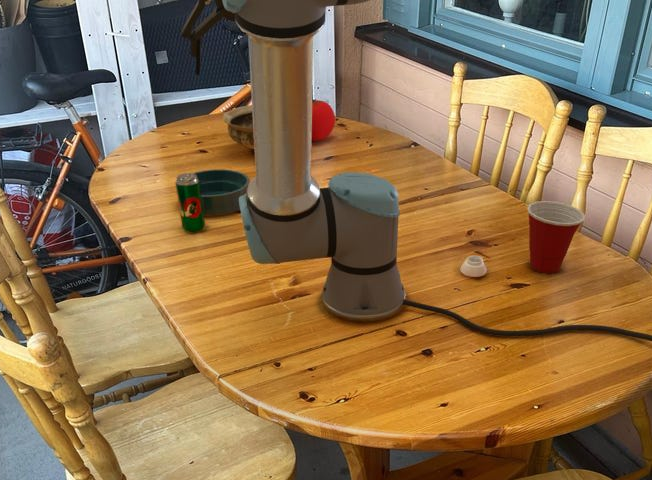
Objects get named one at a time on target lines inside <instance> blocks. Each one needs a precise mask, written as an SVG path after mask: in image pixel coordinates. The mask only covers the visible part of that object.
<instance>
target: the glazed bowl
mask: <svg viewBox="0 0 652 480" xmlns="http://www.w3.org/2000/svg"><path fill="white" fill-rule="evenodd" d="M192 173H193V174H196V175H197V178H198V179H199V182H200V190H201V197H202V205H203V212H204V216H221V215H227V214H231V213H235V212H238V211H240V206H239V197H240V196H243V195H244V194H247V189H248V185H249V183H250V181H251V179H250V178H249V176H248V175H247V174H245V173H243V172H241V171H237V170H233V169H226V168H225V169H223V168H220V169H219V168H217V169H205V170H199V171H195V172H192Z"/></svg>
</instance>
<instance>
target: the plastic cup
mask: <svg viewBox="0 0 652 480" xmlns="http://www.w3.org/2000/svg"><path fill="white" fill-rule="evenodd" d="M526 210H527V213H528V230H529V232H528V235H529V236H528V237H529V239H528V241H529V242H528V247H529V248H528V250H529V263H530V267H531V269H533V270H534V271H536V272H539V273H543V274H553V273H557V272H558V271H560V269H561V267H562V265H563V263H564V260H565V257H566V256H567V253H568V250H569V248H570V246H571V244H572V241H573V238H574V236H575V233H577V231H578V229H579V227H580V225H581V224H582V223H583V222H584V221H585V219H586V215H585V213H584V212H583V211H582V210H580V209H578V208H577V207H576V206H573V205H571V204H567V203H562V202H559V201H551V200H548V201H547V200H541V201H539V200H538V201H534V202H532V203H529V204H528V206H527V207H526Z"/></svg>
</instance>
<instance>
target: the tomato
mask: <svg viewBox="0 0 652 480" xmlns="http://www.w3.org/2000/svg"><path fill="white" fill-rule="evenodd" d="M335 124H336V114H335V111H334V109H333V108H332V106H331V105H330V103H328V101H327V100H326V101H324V100H318V99H317V98H315V99H313V98H312V139H311V142H318V141H322V140H324V139H326V138H328V137H329V136H330V135H331V133H332V132H333V130H334V128H335Z"/></svg>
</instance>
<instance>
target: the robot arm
mask: <svg viewBox="0 0 652 480" xmlns="http://www.w3.org/2000/svg"><path fill="white" fill-rule="evenodd" d="M212 1H213V2H214V4H215V6H216V7H215V8H214V10H213V11H212V12H211V13H210V14H209V15H208V16H207V17H206V18H204V20H203V21H201V23H200V24H199V25H198V26H197V27H195V29H194V26H195V25H196V23H197V22H198V20H199V18H200V16H201V14H202V13H203V11H204V9H205V6H206V5H209V4H210V3H211V2H212ZM369 1H370V0H197V1H196V4H195V6H193V9H192V11H191V13H190V14H189V15H188V18H187V20H186V21H185V23H184V25H183V27H182V29H181V30H182V31H181V37H182V38H183V39H187V40H189V42H190V56H191V57H192V58H195V62H196V63H195V75H197V76H200V75H201V68H202V67H201V66H202V65H201V64H202V38H203V36H205V34H207V33H208V31H210V30H211V29H212V28H213V27H214V26H215V25H216V24H217V23H218V22H220V21H221V20H223V18H224V19H226V21H228V22H234V21H235V23H236V25H237V27H238V28H239V29H240V30H241V31H242V32H244V33H245V34H246V35H247V43H248V59H249V60H248V61H249V79H250V93H251V105H252V114H253V132H254V149H253V151H254V150H255V152H254V163H255V165H254V167H255V176H254V177H253V178H252V179H250V183H249V185H248V189H247V194H244V195H243V196H240V197H239V206H240V210H239V211H240V216H241V220H242V224H243V229H244V235H245V238H246V243H247V247H248V250H249V254H250V257H251V259H252V261H253V262H255V263H256V264H260V265H274V264H275V265H280V264H282V263H283V264H284V263H291V262H300V261H309V260H317V259H326V258H330V266H329V270H328V272H327V276H326V278H325V283H324V285H323V288H322V291H321V303H322V306H323V308H324V310H325V311H326V312H327V313H328V314H329V315H331V316H333V317H334V318H337V319H339V320H342V321H346V322H351V323H356V324H357V323H358V324H369V323H377V322H378V323H379V322H382V321H383V322H384V321H385V320H388V319H391V318H393V317H395V316H396V315H399V313H401V312H402V311H403V309H404V307H405V306H407V307H411V308H414V309H419V310H422V311H423V310H424V311H427V312H428V311H429V312H432V313H437V314H440V315H444V316H446V317H450V318H451V319H454V320H456V321H457V322H459V323H461V324H463V325H464V326H466V327H467V328H469V329H471V330H473V331H476V332H478V333H482V334H486V335H491V336H496V337H497V336H498V337H534V336H535V337H536V336H545V335H550V334H557V333H564V332H571V331H572V332H573V331H589V332H590V331H591V332H592V331H593V332H604V333H610V334H611V333H612V334H616V335H622V336H626V337H631V338H636V339H640V340H645V341H649V342H652V334H649V333H644V332H638V331H634V330H629V329H624V328H620V327H614V326H610V325H609V326H607V325H598V324H565V325H559V326H553V327H548V328H541V329H525V330H521V329H520V330H503V329H501V330H500V329H493V328H489V327H484V326H481V325H479V324H475V323H474V322H472V321H470V320H469V319H467V318H465V317H464V316H462V315H460V314H458V313H456V312H454V311H451V310H448V309H447V308H442V307H438V306H434V305H429V304H425V303H421V302H416V301H413V300H410V299H409V300H408V299H406V291H405V287H404V284H403V283H402V279H401V275H400V270H399V267H398V264H397V262H398V261H397V260H398V238H399V237H398V236H399V216H400V214H401V212H400V211H401V210H400V200H399V198H400V197H399V192H398V189H397V187H396V186H395V185H394V184H393V183H391V182H390V181H389V180H388V179H386V178H383V177H380V176H378V175H374V174H371V173H365V172H358V171H357V172H356V171H355V172H354V171H353V172H352V171H348V172H339V173H338V174H334V175H333V176H332V177H331V178H330V180H329V182H328V183H327V184H328V187H320V185H319V182H317V180H316V179H315V177H313V176H312V141H311V139H312V100H313V77H314V75H313V74H314V73H313V72H314V71H313V68H314V66H313V65H314V36H315V35H316V34H318V33H319V32H320V31H321V30H322V29H324V27H325V24H326V13H327V11H326V10H327V8H328V7H336V6H337V7H338V6H339V7H340V6H349V5H351V6H352V5H358V4H364V3H366V2H369ZM647 480H652V465H651V467H650V470H649V472H648V476H647Z"/></svg>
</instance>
